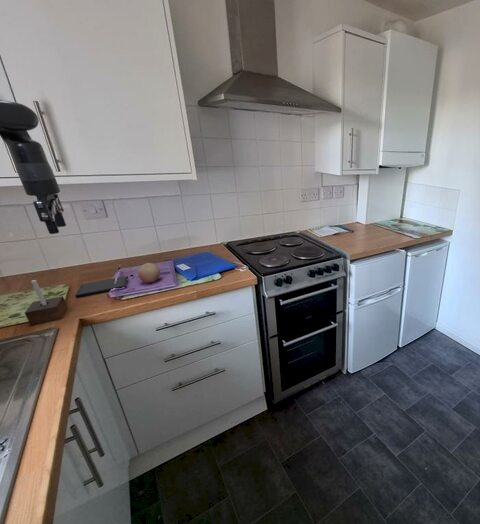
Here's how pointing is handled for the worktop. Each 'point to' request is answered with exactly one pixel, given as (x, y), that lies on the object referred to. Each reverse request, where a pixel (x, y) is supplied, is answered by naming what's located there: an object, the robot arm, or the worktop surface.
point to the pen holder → (46, 310)
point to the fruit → (149, 272)
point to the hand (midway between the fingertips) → (58, 229)
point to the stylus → (39, 292)
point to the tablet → (100, 286)
